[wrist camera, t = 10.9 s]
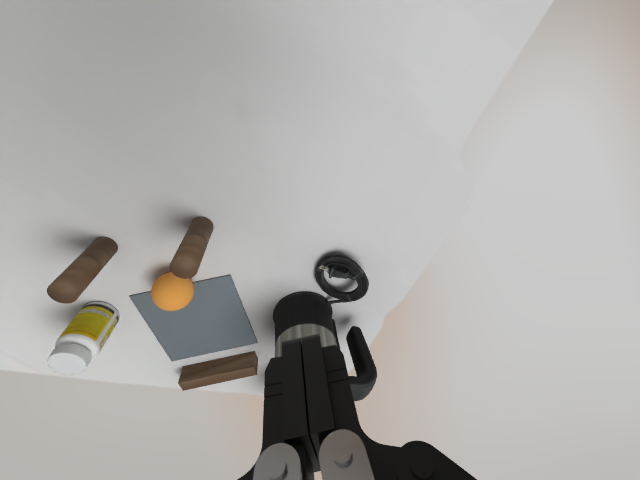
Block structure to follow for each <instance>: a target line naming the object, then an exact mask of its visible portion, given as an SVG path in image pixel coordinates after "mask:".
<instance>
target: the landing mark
mask: <svg viewBox="0 0 640 480" xmlns="http://www.w3.org/2000/svg"><path fill="white" fill-rule="evenodd" d="M193 286H194V295H193V298H192V300H191V301H190V303H189V304H188V305H187V306H185V307H184V308H182V309H180V310H176V311H166V310H163V309H161V308H159V307H158V306H156V304H155V303H154V302H153V300H152V296H151V291H150V292H145V293H140V294H135V295H130V296H129V297H130V298H131V300H132V301H133V303H134V304H135V306H136V308H137V309H138V311H139V312H140V314H141V315H142V317H143V318H144V320H145V321H146V323H147V324H148V326H149V327H150V329H151V330H152V332H153V333H154V335H155V337H156V338H157V340H158V341H159V343H160V344H161V346H162V347H163V349H164V350H165V352H166V353H167V355H168V356H169V358H170V359H171V361H175V360H180V359H185V358H189V357H194V356H199V355H203V354H208V353H213V352H217V351H222V350H227V349H231V348H236V347H241V346H245V345H250V344H255V343H257V340H256V337H255V335H254V332H253V330H252V327H251V325H250V322H249V320H248V317H247V315H246V312H245V310H244V308H243V305H242V303H241V300H240V298H239V295H238V293H237V290H236V288H235V285H234V283H233V280H232V278H231V275H226V276H221V277H217V278H212V279H207V280H202V281H197V282H193Z"/></svg>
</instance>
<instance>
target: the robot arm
mask: <svg viewBox="0 0 640 480" xmlns="http://www.w3.org/2000/svg"><path fill="white" fill-rule="evenodd" d="M264 398H265V399H264V416H263V443H262V449H261V453H260V456H259V458H258V460H257V462H256V463H255V465H254V466H253V467H252V468H251V470H250V471H249V472H247V474H245V475H244V476H242V477H241V478H239V479H238V480H314V472H317V471H321V473H322V479H323V480H477V479H475V478H474V477H473V476H471V475H470V474H469V473H467V472H466V471H465V470H464V469H462V468H461V467H460V466H458V465H457V464H456V463H454V462H453V461H452V460H450V459H449V458H448V457H446V456H445V455H444V454H443V453H441V452H440V451H439V450H437V449H436V448H434V447H433V446H432V445H430V444H428V443H426V442H422V441H411V442H408V443H406V444H405V445H404V446H402V447H395V446H388V445H383V444H379V443H377V442H375V441H373V440H371V439H370V438H369V437H368V436H367V435H366V434H365V433H364V432H363V430H362V429H361V427H360V424H359V421H358V417H357V413H356V408H355V404H354V399H353V395H352V390H351V386H350V382H349V377H348V373H347V369H346V364H345V360H344V356H343V354H342V352H341V351H340V350H339V348H338V347H337V346H336V345H331V346H326V347H323V345H322V341H321V336H320V333H318V334H314V335H309V336H304V337H302V340H301V338H295V339H291V340H286V341H282V356H280V357H276V358H271V359H270V362H269V364H268V366H267V368H266V371H265V388H264Z"/></svg>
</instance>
